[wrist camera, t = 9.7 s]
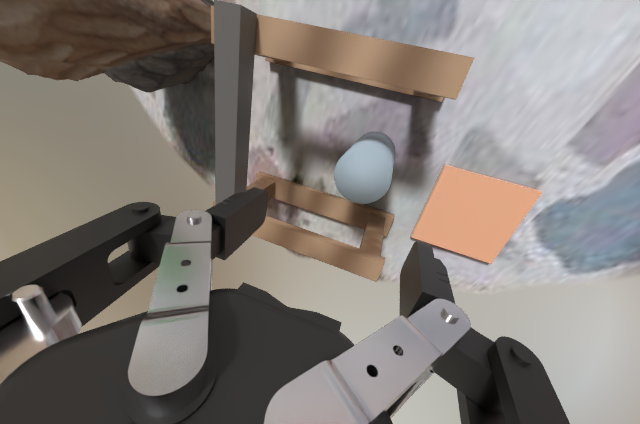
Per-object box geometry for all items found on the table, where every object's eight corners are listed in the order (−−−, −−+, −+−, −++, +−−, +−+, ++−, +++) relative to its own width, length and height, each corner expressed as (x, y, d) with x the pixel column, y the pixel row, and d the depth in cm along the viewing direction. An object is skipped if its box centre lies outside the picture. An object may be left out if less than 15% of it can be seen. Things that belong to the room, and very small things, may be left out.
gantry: (453, 69, 24) (485, 53, 15) (386, 232, 34) (380, 285, 24) (272, 31, 27) (204, -2, 18) (258, 189, 37) (209, 221, 28)
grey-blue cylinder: (401, 138, 28) (400, 157, 20) (387, 177, 31) (380, 210, 22) (359, 127, 29) (341, 141, 20) (349, 166, 31) (328, 194, 23)
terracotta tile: (538, 190, 26) (542, 192, 26) (489, 260, 31) (490, 263, 30) (444, 163, 28) (445, 165, 27) (411, 234, 33) (411, 237, 32)
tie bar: (256, 13, 17) (240, 5, 16) (243, 233, 27) (232, 242, 25) (232, 9, 18) (213, -1, 16) (227, 227, 27) (215, 236, 25)
